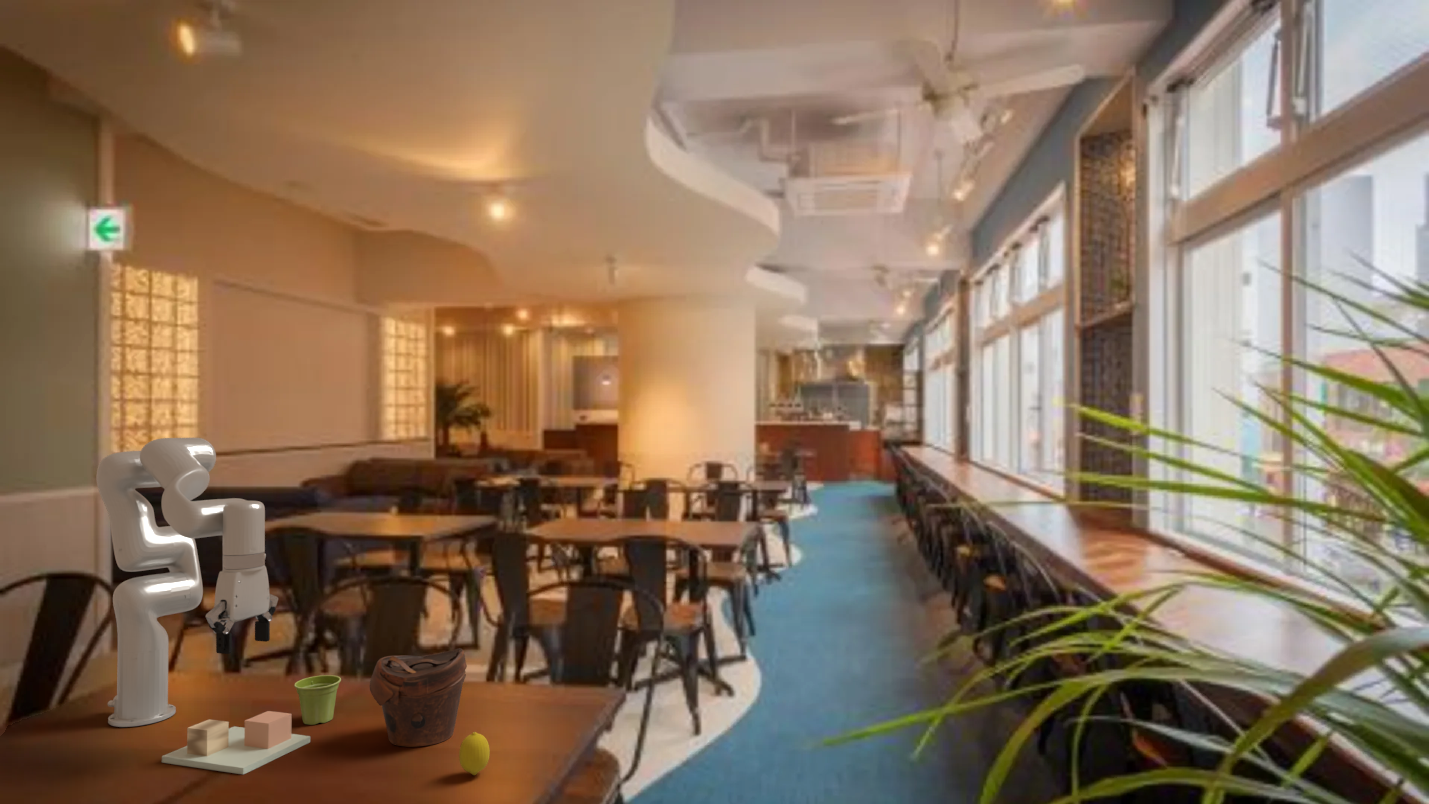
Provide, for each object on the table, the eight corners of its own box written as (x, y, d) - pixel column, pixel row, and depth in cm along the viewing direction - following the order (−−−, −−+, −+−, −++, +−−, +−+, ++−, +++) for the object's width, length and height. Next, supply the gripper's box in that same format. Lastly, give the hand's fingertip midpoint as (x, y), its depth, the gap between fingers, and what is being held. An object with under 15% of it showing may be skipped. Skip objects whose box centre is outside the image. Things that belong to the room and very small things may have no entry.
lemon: (462, 769, 163) (462, 727, 163) (491, 768, 163) (492, 726, 164) (456, 781, 157) (456, 738, 158) (486, 780, 158) (486, 737, 158)
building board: (161, 762, 167) (161, 756, 167) (234, 732, 183) (234, 726, 183) (243, 774, 161) (243, 768, 161) (310, 742, 177) (310, 736, 177)
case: (353, 738, 179) (355, 652, 179) (440, 715, 193) (442, 635, 194) (393, 763, 167) (395, 671, 167) (483, 736, 181) (485, 651, 182)
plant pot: (322, 729, 184) (323, 689, 185) (284, 726, 186) (284, 686, 187) (349, 714, 194) (349, 676, 194) (312, 712, 195) (313, 674, 196)
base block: (244, 745, 172) (244, 720, 172) (267, 735, 178) (268, 710, 178) (268, 748, 170) (268, 723, 170) (291, 738, 176) (291, 713, 176)
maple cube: (187, 753, 168) (187, 727, 168) (208, 744, 173) (209, 719, 173) (207, 756, 167) (207, 730, 167) (228, 746, 171) (228, 721, 172)
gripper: (261, 555, 183) (261, 635, 182) (192, 568, 166) (192, 657, 166) (290, 556, 181) (290, 637, 180) (224, 569, 164) (223, 659, 164)
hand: (243, 646), depth 173 cm, fingers open, 9 cm apart
